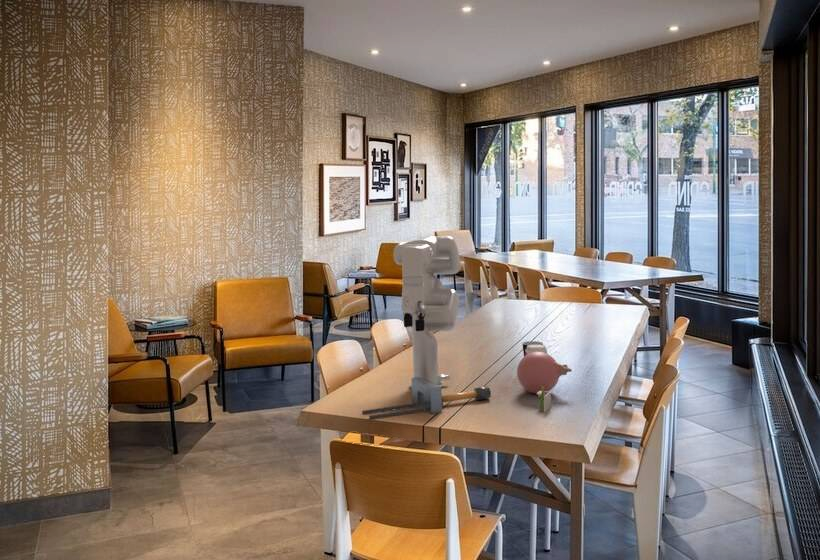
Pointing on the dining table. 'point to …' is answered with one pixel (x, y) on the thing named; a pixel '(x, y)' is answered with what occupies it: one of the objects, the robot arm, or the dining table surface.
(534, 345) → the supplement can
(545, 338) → the dining table surface
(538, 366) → the pink bulb shape
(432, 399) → the housing
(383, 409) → the guide
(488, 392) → the hammer
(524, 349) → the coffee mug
